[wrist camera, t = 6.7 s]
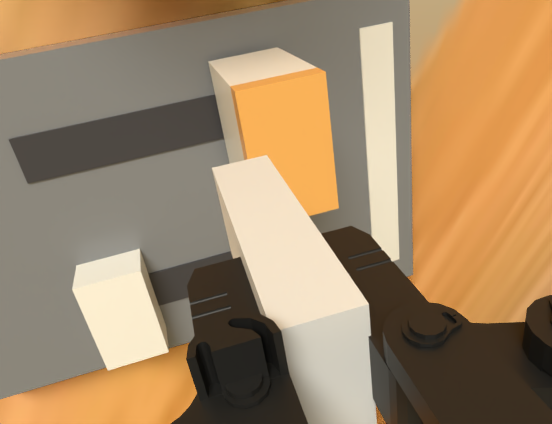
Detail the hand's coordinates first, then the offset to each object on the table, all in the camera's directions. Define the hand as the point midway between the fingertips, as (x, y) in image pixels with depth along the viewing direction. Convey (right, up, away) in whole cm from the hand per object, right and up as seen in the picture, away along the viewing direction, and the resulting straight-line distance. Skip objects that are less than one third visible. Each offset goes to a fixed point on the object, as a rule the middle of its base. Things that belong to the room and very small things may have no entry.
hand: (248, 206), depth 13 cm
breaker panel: (-4, +1, +11) cm, 12 cm away
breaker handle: (0, +4, +8) cm, 9 cm away
